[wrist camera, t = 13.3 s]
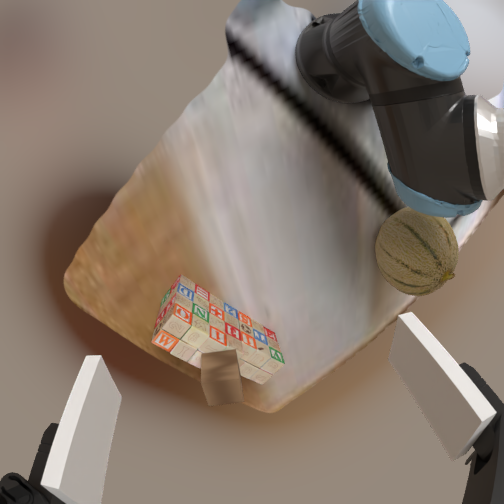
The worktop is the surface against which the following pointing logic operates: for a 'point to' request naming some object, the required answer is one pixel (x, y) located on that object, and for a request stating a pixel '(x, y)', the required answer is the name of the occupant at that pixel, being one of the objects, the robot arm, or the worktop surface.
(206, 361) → the walnut block
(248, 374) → the stack of blocks
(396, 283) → the cantaloupe
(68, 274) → the worktop surface
